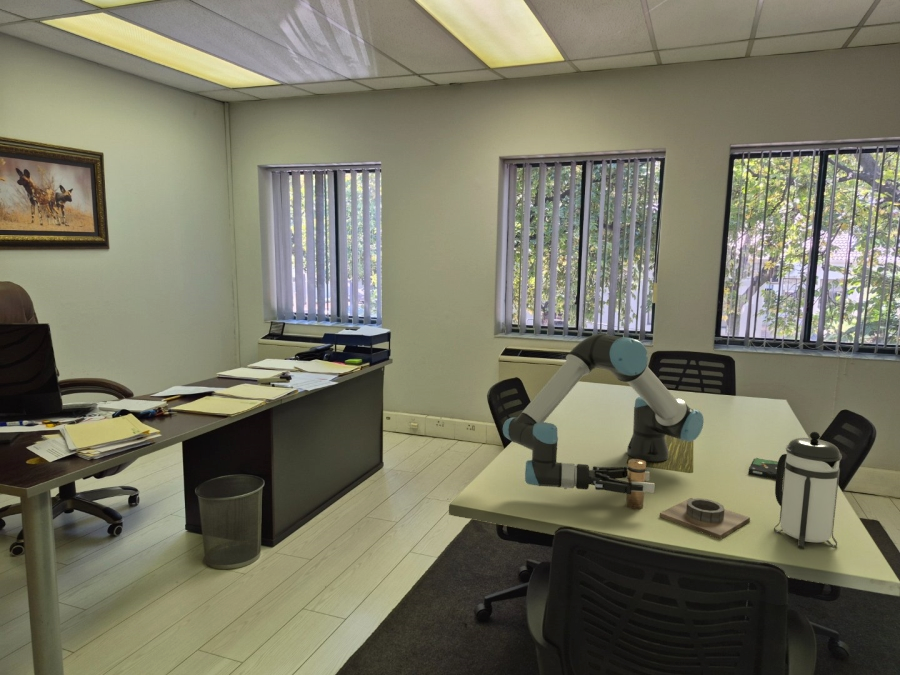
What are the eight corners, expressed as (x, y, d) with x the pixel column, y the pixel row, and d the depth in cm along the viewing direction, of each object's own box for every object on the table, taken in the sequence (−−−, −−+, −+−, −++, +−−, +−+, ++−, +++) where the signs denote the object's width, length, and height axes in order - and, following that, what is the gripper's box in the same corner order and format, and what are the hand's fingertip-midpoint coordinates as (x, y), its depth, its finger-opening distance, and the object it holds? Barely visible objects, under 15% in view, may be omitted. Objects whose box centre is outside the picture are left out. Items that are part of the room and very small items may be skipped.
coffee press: (842, 537, 164) (854, 431, 160) (830, 558, 153) (843, 444, 149) (772, 518, 176) (782, 418, 172) (757, 536, 164) (766, 429, 160)
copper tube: (631, 501, 187) (634, 457, 185) (646, 506, 183) (649, 462, 181) (622, 505, 183) (624, 461, 181) (637, 510, 179) (640, 465, 177)
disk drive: (781, 482, 206) (784, 469, 219) (781, 474, 206) (785, 462, 218) (747, 476, 212) (753, 463, 224) (748, 468, 212) (753, 456, 224)
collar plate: (690, 501, 187) (691, 488, 186) (749, 521, 173) (750, 507, 173) (659, 516, 176) (660, 503, 175) (720, 539, 162) (721, 524, 161)
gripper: (573, 475, 196) (645, 480, 192) (576, 501, 175) (656, 508, 171) (575, 453, 195) (646, 458, 191) (577, 477, 174) (658, 483, 170)
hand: (651, 481), depth 181 cm, fingers open, 9 cm apart
